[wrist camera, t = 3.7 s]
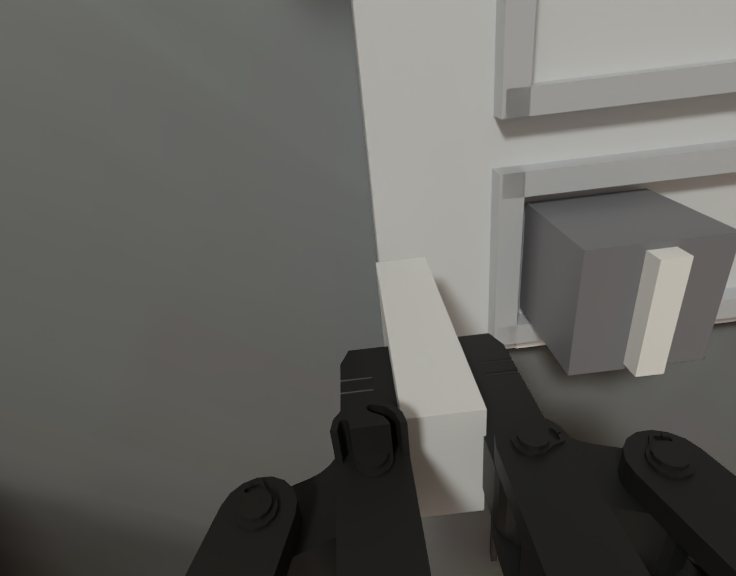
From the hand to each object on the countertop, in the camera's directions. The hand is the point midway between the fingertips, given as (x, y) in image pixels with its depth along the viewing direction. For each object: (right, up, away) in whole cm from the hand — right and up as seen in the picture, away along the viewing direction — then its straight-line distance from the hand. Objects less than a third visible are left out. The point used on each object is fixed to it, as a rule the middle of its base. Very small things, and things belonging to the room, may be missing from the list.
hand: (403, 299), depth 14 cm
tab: (+6, +2, +2) cm, 7 cm away
